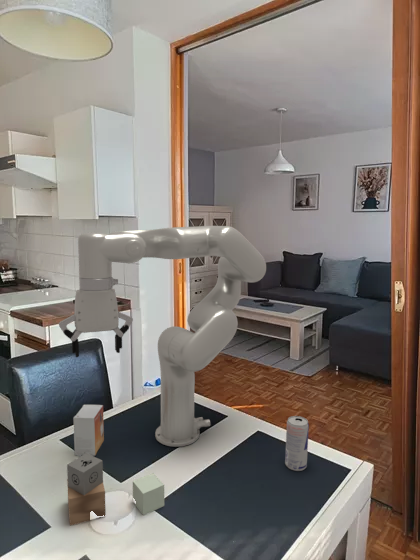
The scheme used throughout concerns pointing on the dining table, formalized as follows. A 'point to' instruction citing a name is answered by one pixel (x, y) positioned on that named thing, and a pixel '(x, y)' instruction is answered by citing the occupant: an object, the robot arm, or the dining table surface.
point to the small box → (88, 430)
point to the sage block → (148, 493)
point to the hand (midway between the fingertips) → (97, 353)
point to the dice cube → (85, 473)
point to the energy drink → (296, 443)
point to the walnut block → (85, 504)
